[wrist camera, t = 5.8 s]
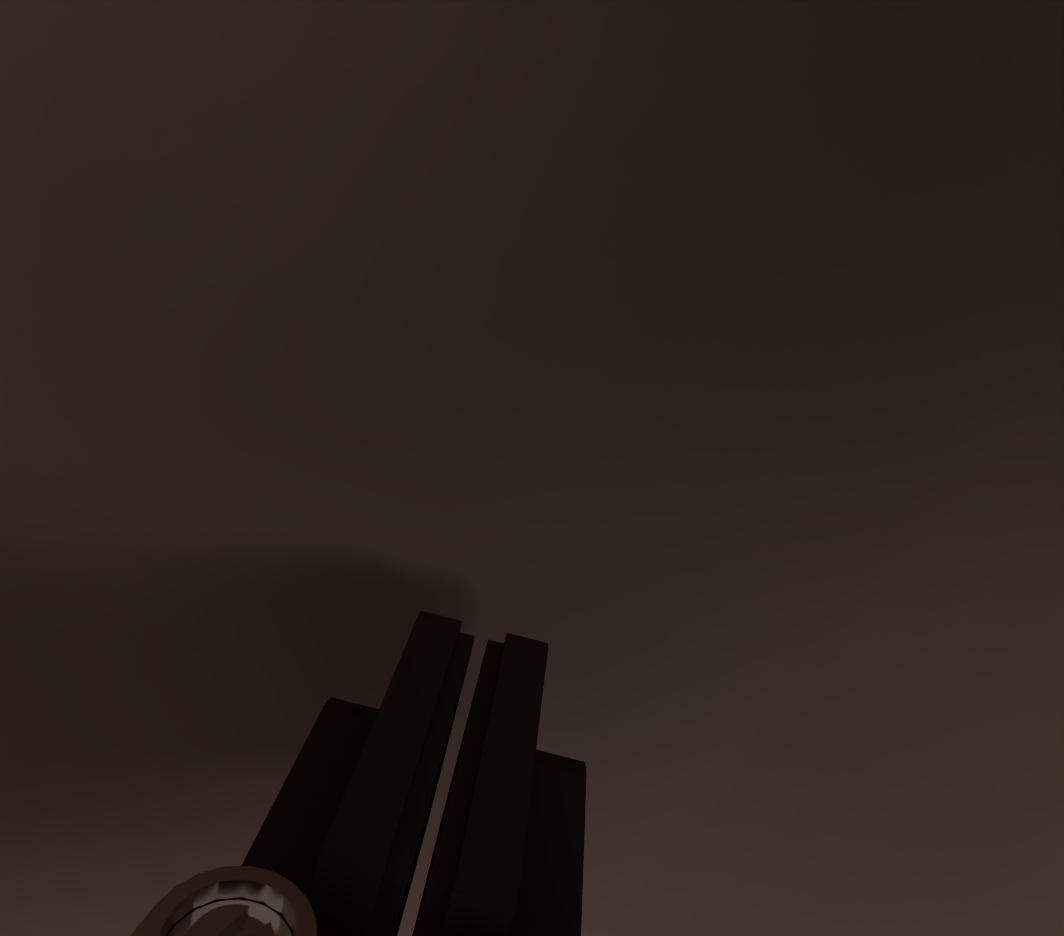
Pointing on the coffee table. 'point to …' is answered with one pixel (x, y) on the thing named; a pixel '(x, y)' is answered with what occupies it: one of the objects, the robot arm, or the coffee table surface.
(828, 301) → the coffee table surface
